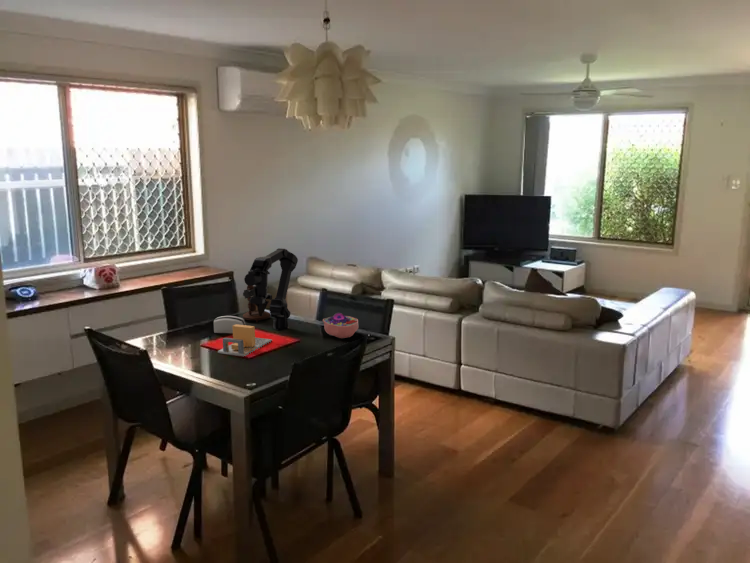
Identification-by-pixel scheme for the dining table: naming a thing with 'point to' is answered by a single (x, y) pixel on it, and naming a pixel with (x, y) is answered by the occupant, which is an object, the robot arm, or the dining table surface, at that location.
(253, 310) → the brown round-based stand
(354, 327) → the cell model
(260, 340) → the baseplate
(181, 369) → the dining table surface
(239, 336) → the tan chunky block
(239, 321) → the grey napkin holder
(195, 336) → the dining table surface
